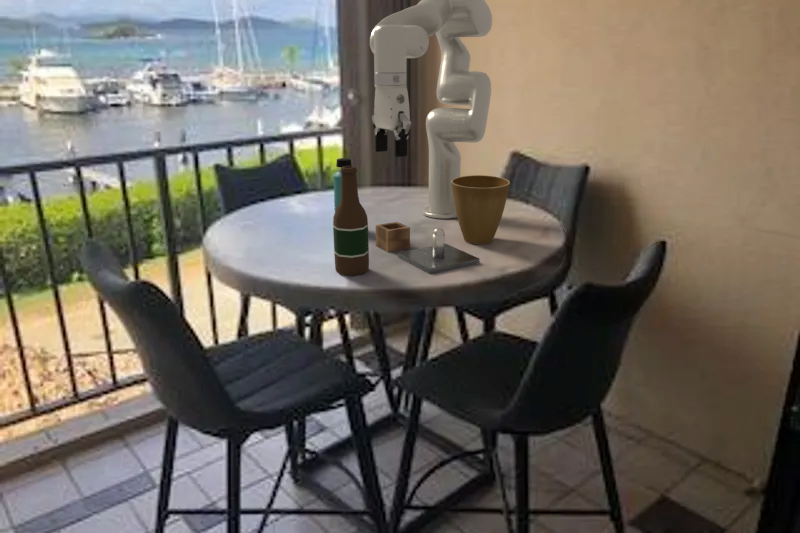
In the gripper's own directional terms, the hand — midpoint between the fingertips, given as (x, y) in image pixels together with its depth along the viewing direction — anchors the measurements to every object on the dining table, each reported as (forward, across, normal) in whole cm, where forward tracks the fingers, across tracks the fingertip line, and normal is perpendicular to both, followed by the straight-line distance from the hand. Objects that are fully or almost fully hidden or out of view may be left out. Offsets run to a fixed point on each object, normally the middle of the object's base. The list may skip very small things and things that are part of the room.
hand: (390, 153), depth 153 cm
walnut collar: (+24, 0, 0) cm, 24 cm away
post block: (+24, -15, -4) cm, 29 cm away
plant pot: (+24, -7, -22) cm, 33 cm away
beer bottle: (+24, -11, +17) cm, 31 cm away
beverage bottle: (+24, +21, +3) cm, 32 cm away
